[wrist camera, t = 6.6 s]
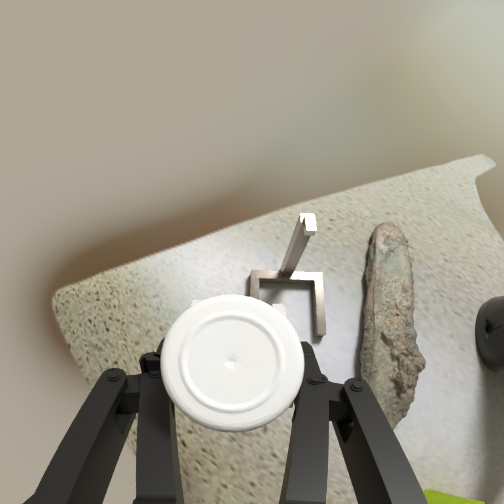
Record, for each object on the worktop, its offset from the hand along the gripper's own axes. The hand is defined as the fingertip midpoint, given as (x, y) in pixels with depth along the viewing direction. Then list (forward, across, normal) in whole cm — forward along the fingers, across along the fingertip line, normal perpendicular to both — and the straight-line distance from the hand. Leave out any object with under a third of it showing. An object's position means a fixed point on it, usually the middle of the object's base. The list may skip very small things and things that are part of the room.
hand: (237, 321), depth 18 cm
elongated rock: (+18, -23, +11) cm, 31 cm away
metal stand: (+20, -7, +8) cm, 22 cm away
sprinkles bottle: (0, 0, +6) cm, 6 cm away
